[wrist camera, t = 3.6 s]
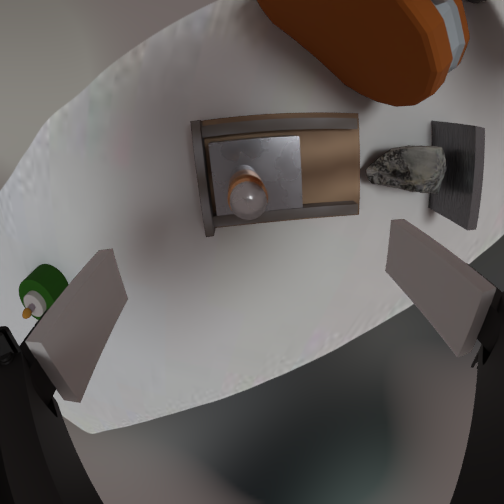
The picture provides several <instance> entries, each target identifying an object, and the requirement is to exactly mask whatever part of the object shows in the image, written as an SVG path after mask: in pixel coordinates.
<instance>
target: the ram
mask: <svg viewBox="0 0 504 504" xmlns="http://www.w3.org/2000/svg"><path fill="white" fill-rule="evenodd" d="M208 146H209V155H210V163H211V172H212V180H213V188H214V196H215V204H216V211H217V216H220V215H229V214H235V215H236V216H237V217H239V218H241V219H244V220H252V219H256V218H258V217H259V216H261V215H262V214H263V212H264V211H269V210H280V209H292V208H303V200H302V175H301V156H300V139H299V136H296V135H281V136H266V137H253V138H242V139H232V140H223V141H214V142H210V143H208Z"/></svg>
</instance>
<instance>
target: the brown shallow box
mask: <svg viewBox="0 0 504 504" xmlns="http://www.w3.org/2000/svg"><path fill="white" fill-rule="evenodd" d="M190 122H191V131H192V140H193V148H194V156H195V164H196V172H197V180H198V187H199V194H200V201H201V208H202V215H203V222H204V228H205V235H206V237H210V236H214V233H215V228H217V227H227V226H236V225H246V224H256V223H266V222H276V221H287V220H298V219H309V218H321V217H334V216H346V215H359V199H360V144H359V119H358V113H280V114H263V115H249V116H238V117H228V118H219V119H211V120H204V121H201V120H197V121H190ZM281 135H296V136H299V139H300V156H301V175H302V200H303V208H292V209H280V210H269V211H264V212H263V214H262V215H261V216H259V217H258V218H256V219H252V220H244V219H241V218H239V217H237V216H236V215H235V214H229V215H220V216H217V211H216V204H215V196H214V188H213V180H212V172H211V163H210V155H209V146H208V143H210V142H214V141H223V140H232V139H242V138H253V137H266V136H281Z"/></svg>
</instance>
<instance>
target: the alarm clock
mask: <svg viewBox="0 0 504 504" xmlns="http://www.w3.org/2000/svg"><path fill="white" fill-rule="evenodd" d="M257 1H258V3H259V5H260V7H261V9H262V10H263V11H264V13H265V14H266V15H267V16H268V18H269V19H270V20H271V21H272V23H273V24H275V25H276V26H277V27H279V28H280V29H281V30H283V31H284V32H285V33H287V34H288V35H289V36H290V37H292V38H293V39H294V40H296V41H297V42H298V43H299V44H300V45H302V46H303V47H304V48H305V49H306V50H308V51H309V52H310V53H311V54H312V55H313V56H315V57H316V58H317V59H318V60H319V61H320V62H321V63H322V64H324V65H325V66H326V67H327V68H328V69H329V70H330V71H331V72H332V73H333V74H334V75H335V76H336V77H337V78H338V79H339V80H341V81H342V82H343V83H344V84H345V85H346V86H348V87H350V88H351V89H353V90H355V91H356V92H358V93H359V94H361V95H363V96H366V97H368V98H370V99H372V100H375V101H377V102H380V103H384V104H388V105H392V106H396V107H397V106H412V105H416V104H418V103H420V102H421V101H423V100H425V99H426V98H428V97H430V96H431V95H433V94H434V93H435V92H436V91H437V90H438V89H439V87H440V86H441V85H442V84H443V83H444V81H445V78H446V76H447V73H449V72H450V71H452V70H453V69H455V68H456V67H457V66H458V65H459V63H460V62H461V60H462V57H463V55H464V52H465V50H466V47H467V44H468V42H469V39H470V36H469V30H468V25H467V20H466V16H465V11H464V7H463V3H462V0H257Z"/></svg>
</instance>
